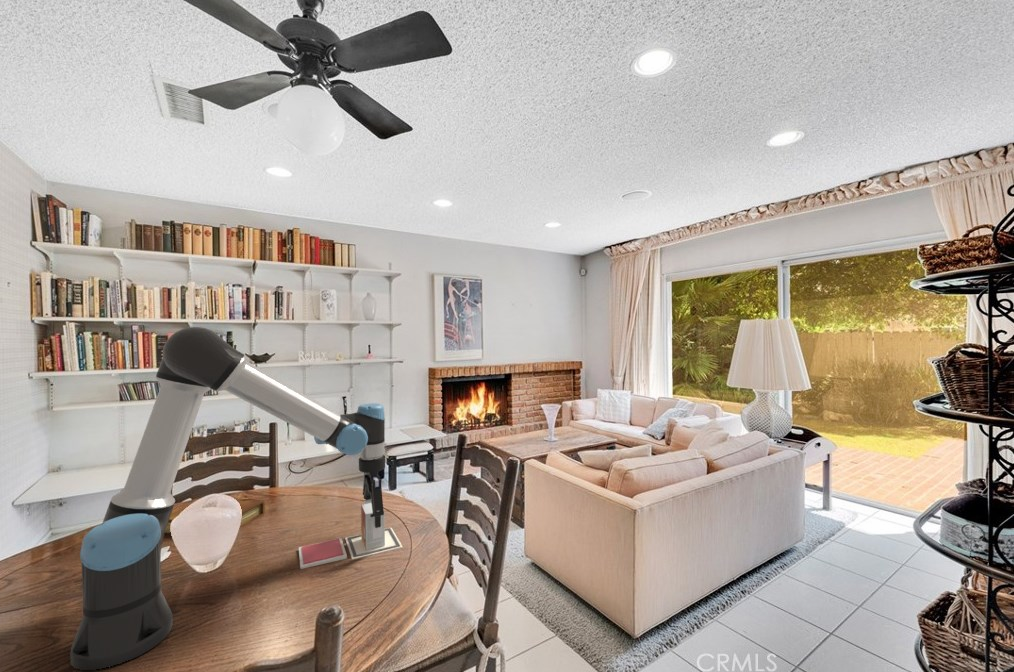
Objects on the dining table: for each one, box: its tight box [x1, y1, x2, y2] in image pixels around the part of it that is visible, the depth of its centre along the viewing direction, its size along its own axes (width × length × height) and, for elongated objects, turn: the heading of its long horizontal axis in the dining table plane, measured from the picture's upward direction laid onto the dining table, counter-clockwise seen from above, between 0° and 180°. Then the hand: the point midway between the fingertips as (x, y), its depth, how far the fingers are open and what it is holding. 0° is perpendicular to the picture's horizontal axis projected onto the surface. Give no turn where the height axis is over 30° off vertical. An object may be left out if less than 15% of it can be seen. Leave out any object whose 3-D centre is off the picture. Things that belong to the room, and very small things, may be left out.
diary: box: [165, 498, 266, 534], centre depth 142 cm, size 23×19×6 cm
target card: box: [344, 527, 404, 560], centre depth 128 cm, size 14×14×1 cm
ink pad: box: [298, 537, 348, 570], centre depth 121 cm, size 12×12×2 cm
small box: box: [360, 503, 386, 550], centre depth 127 cm, size 8×6×10 cm
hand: (373, 528), depth 128 cm, fingers open, 12 cm apart
